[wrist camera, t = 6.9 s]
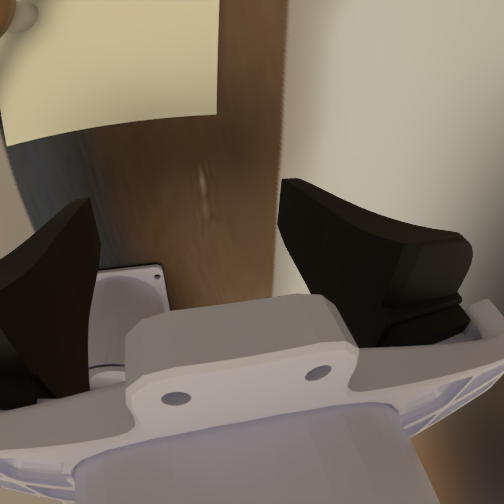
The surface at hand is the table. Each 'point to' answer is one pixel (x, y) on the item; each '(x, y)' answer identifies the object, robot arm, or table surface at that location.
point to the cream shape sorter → (106, 64)
